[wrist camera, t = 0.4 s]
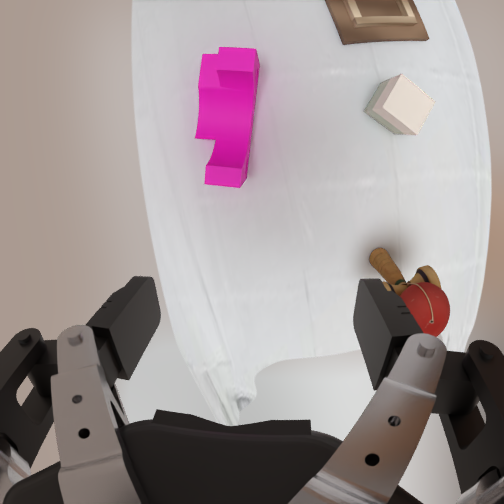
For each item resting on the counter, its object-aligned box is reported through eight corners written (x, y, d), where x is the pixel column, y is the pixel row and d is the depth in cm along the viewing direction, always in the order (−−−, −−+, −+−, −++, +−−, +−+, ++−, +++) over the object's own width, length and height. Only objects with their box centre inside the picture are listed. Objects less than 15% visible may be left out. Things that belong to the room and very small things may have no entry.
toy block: (210, 62, 31) (195, 47, 24) (259, 65, 31) (255, 48, 24) (199, 173, 37) (181, 182, 30) (246, 177, 37) (239, 187, 30)
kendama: (407, 235, 37) (474, 299, 21) (399, 274, 40) (453, 351, 23) (357, 232, 38) (408, 303, 21) (352, 274, 40) (390, 359, 24)
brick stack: (363, 111, 32) (382, 107, 25) (380, 82, 30) (401, 73, 24) (394, 134, 33) (417, 135, 26) (410, 105, 31) (435, 101, 24)
